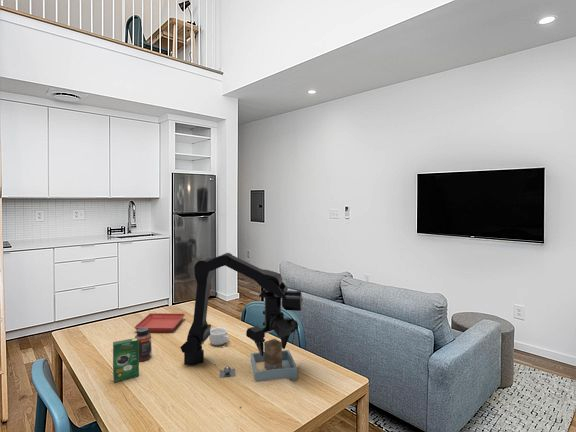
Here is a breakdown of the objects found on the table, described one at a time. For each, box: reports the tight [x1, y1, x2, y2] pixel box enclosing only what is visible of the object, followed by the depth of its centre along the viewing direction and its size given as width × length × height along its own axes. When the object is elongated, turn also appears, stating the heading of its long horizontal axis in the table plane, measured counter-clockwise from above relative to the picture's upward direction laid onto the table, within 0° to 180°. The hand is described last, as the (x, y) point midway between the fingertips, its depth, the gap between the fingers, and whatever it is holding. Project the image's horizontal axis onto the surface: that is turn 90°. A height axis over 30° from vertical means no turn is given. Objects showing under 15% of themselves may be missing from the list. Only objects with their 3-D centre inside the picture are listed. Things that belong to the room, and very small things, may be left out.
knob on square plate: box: [219, 365, 237, 379], centre depth 124 cm, size 5×5×3 cm
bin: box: [250, 349, 299, 382], centre depth 128 cm, size 14×14×4 cm
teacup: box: [208, 326, 230, 346], centre depth 150 cm, size 10×8×5 cm
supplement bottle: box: [134, 328, 153, 362], centre depth 137 cm, size 6×6×11 cm
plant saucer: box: [134, 312, 186, 333], centre depth 170 cm, size 18×18×3 cm
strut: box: [263, 338, 283, 370], centre depth 127 cm, size 4×4×10 cm
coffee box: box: [112, 337, 140, 383], centre depth 123 cm, size 8×3×13 cm, turn 123°
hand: (273, 352), depth 127 cm, fingers open, 9 cm apart
